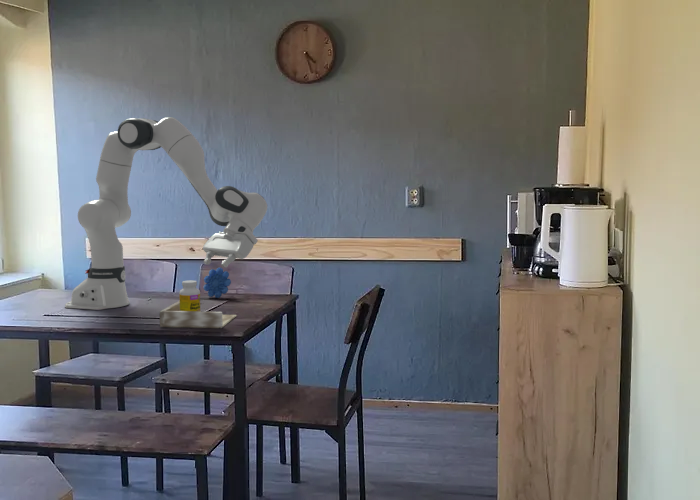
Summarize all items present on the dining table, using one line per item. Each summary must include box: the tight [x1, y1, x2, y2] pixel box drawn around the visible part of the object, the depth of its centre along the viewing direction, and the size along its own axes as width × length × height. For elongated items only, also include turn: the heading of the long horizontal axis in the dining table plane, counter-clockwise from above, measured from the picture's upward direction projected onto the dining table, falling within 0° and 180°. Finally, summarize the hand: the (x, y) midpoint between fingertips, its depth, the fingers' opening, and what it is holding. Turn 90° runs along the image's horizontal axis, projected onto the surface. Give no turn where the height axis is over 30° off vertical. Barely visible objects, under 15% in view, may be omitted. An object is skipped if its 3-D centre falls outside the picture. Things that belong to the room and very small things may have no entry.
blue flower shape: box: [203, 267, 232, 299], centre depth 280 cm, size 12×7×12 cm, turn 72°
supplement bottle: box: [178, 279, 201, 311], centre depth 236 cm, size 7×7×13 cm
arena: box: [159, 300, 237, 329], centre depth 238 cm, size 20×18×5 cm
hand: (214, 264), depth 243 cm, fingers open, 8 cm apart
